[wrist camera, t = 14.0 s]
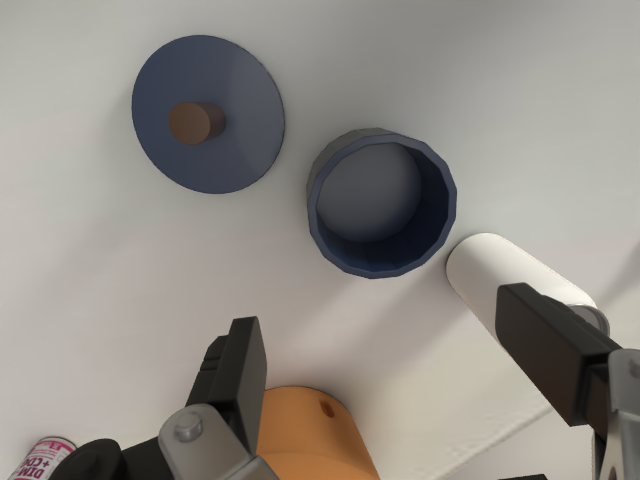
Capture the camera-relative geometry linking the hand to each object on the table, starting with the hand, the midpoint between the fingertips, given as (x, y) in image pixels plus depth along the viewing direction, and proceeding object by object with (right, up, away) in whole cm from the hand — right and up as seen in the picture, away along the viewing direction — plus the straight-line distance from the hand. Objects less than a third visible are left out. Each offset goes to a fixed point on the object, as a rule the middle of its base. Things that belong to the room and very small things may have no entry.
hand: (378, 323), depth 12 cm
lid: (-10, +12, +16) cm, 22 cm away
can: (+13, +1, +22) cm, 25 cm away
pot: (+2, +7, +19) cm, 20 cm away
